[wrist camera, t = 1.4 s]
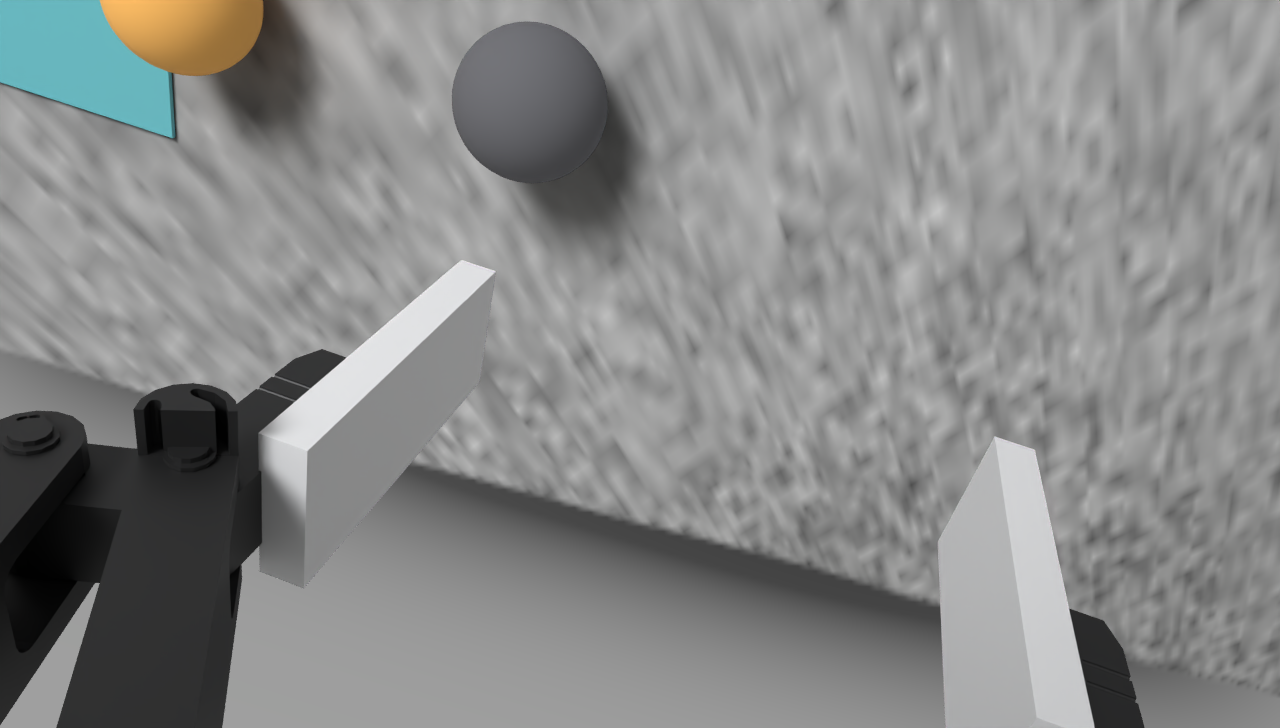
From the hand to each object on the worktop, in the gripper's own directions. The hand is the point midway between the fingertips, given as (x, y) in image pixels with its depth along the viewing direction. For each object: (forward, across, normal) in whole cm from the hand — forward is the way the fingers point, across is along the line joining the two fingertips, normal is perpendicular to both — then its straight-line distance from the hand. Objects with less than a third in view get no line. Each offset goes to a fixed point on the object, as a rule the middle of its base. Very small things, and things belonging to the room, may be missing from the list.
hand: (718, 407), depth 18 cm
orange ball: (+15, -24, 0) cm, 28 cm away
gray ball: (+15, -10, 0) cm, 18 cm away
